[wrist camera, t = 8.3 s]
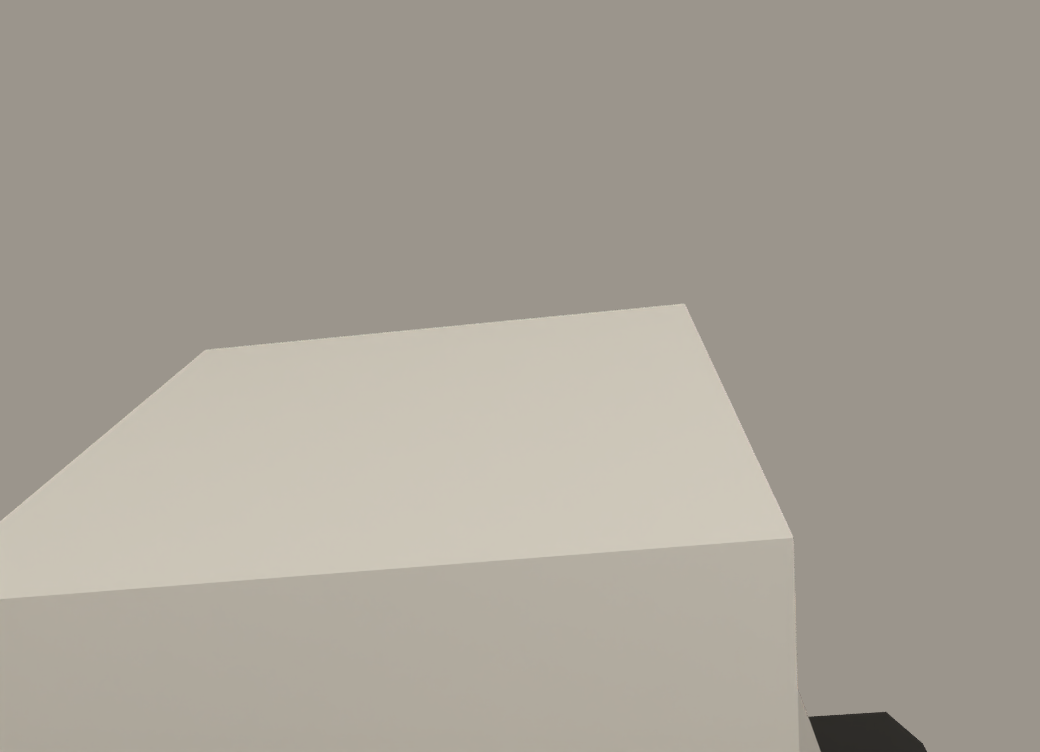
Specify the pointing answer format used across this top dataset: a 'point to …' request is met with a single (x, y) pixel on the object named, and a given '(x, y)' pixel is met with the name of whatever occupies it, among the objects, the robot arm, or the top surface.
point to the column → (411, 555)
